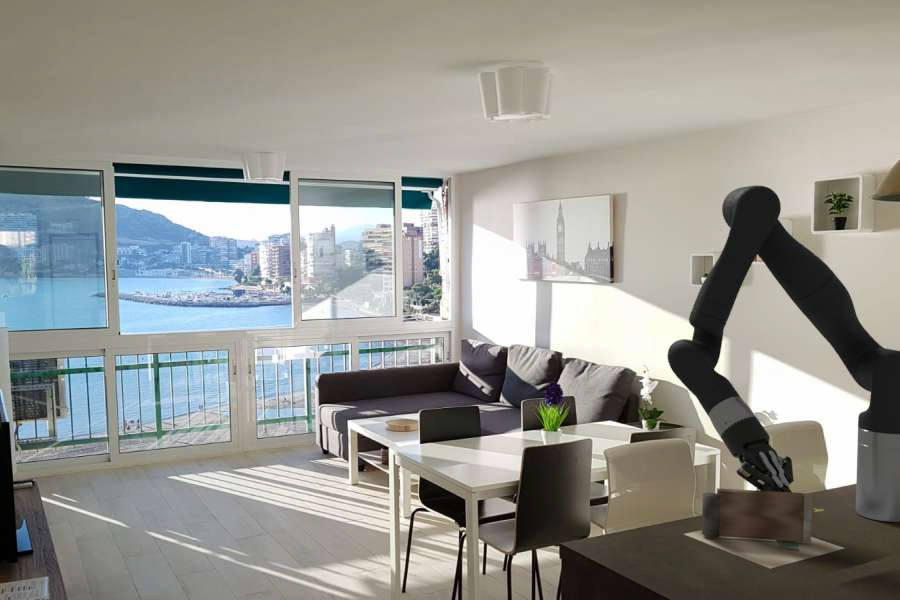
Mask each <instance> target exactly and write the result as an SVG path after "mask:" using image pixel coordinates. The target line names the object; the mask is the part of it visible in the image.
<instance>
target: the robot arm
mask: <svg viewBox="0 0 900 600" xmlns="http://www.w3.org/2000/svg"><path fill="white" fill-rule="evenodd" d="M721 208H722V209H721V213H722V217H723V219H724V222H725V223H726V225H727V226H728V227H729V232H728V236H727V238H726V241H725V244H724V246H723V249H722V250H721V252H720V255H719V257H718V258H717V260H716V262H715V263H714V264H713V266H712V268H711V269H710V271H709V273H708V274H707V276H706V278H705V279H704V280H703V283H702V285H701V287H700V289H699V291H698V294H697V295H696V296H697V297H696V299H695V301H694V304H693V306H692V309H691V311H690V314H689V316H688V317H689V318H688V322H689V325H690V326H692V328H693V334H692V338H691V339H687V338H686V339H684V338H683V339H678V340H676V341H674V342H673V343H671V345H670V346H669V348H668V350H667V362H668V366H669V367H670V369H671V371H672V372H673V373H674V374H673V375H675V376H676V378H677V379H678V380H679V381H680V382H681V383H682V385H684V386H685V388H686V389H687V390H688V391H690V392H691V394H692V395H694V396H695V397H696V400H698V403H699V404H700V406H701V407H702V409H703V410H704V412H705V413H706V415H707V417H708V418H709V420H710V422H711V425H712V426H713V428H714V430H715V431H716V433H717V434H718V436H719V437H720V439H721V441H722V442H723V443H724V445H725V447H726V449H728V451H729V452H730V454H731V455H732V457H734V458H735V459H738V461H739V462H740V467H739V468H738V469H737V470H736V473H737V475H738V476H739V477H741V478H742V479H743V480H745V481H746V482H748V483H749V484H750V485H752V486H753V487H755V488H757V490H758V491H774V492H792V490H791V489H790V485H791V484H792V483H793V482H794V470H793V461H792V458H791V457H789V456H785V457H782V456H780V455H778V452H777V451H776V450H775V449H774V448H773V447H772V446H771V445H770V435H769V433H768V431H767V430H766V429H765V427H764V426H763V425H762V423H761V421H760V420H759V419H758V418H757V415H755V413H754V411H752V409H751V407H750V406H749V405H748V404H747V403H746V402H745V401H744V400H743V398H742V397H741V395H740V394H739V392H738V391H737V390H736V388H735V387H734V385H733V384H732V382H731V381H730V380H729V379H728V378H727V377H726V376H724V375H723V374H720V373H719V372H717V371H716V370H715V368H717V365H718V363H719V360H720V357H721V353H722V352H721V350H722V345H723V340H724V329H725V327H726V325H727V322H728V320H729V317H730V316H731V313H732V311H733V308H734V306H735V303H736V300H737V298H738V295H739V292H740V290H741V288H742V285H743V283H744V281H745V278H746V277H747V274H748V272H749V270H750V268H751V267H752V264H753V262H754V261H755V259H756V257H757V256H758V257H759V259H761V261H762V262H763V263H764V265H765V266H766V268H767V269H768V271H769V272H770V273H771V274H772V275H771V276H773V277H774V278H775V280H776V281H777V283H778V284H779V285H780V286H781V288H782V289H783V290H784V292H785V293H786V294H787V296H788V297H789V298H790V300H792V302H793V303H794V305H795V306H796V307H797V308H798V309H799V310H800V311H801V313H802V314H803V315H804V317H806V318H807V320H809V322H810V323H811V324H812V325H813V326H814V327H815V329H816V330H817V331H818V332H819V333H820V334H821V336H822V337H823V338H824V339H825V340H826V341H827V343H829V345H830V346H831V347H832V348H833V350H834V352H835V353H836V355H837V356H838V357H839V359H840V360H841V362H842V363H843V365H844V367H845V368H846V370H847V371H848V373H849V374H850V375H851V377H852V379H853V380H854V381H855V383H856V384H857V385H858V386H860V387H861V388H862V389H863V390H865V391H866V392H869V393H870V399H869V406H868V408H867V409H866V410H865V411H864V410H863V411H862V412H860V413H859V414H858V417H857V446H856V447H857V452H856V453H857V454H856V456H857V457H856V486H855V488H856V489H855V513H856V514H857V515H859V516H861V517H864V518H867V519H870V520H876V521H880V522H889V523H900V350H897V349H891V348H885V347H883V346H882V345H881V344H880V343H879V342H877V341H876V339H875V338H874V337H872V336H871V333H869V332H868V331H867V329H865V327H864V326H863V325H862V323H861V322H860V320H859V318H858V316H857V312H856V308H855V306H854V302H853V299H852V297H851V295H850V293H849V291H848V289H847V287H846V286H845V285H844V283H843V282H842V281H841V280H840V279H839V277H838V276H837V274H835V272H834V271H833V270H832V269H831V268H830V266H828V265H827V264H826V263H825V262H824V261H823V260H822V259H821V258H820V257H819V256H817V254H815V253H814V252H813V251H811V250H810V249H808V248H807V246H804V245H803V244H802V243H801V242H800V241H798V240H797V239H795V237H794V236H792V235H791V234H790V233H789V231H787V230H786V228H785V227H784V225H783V224H782V223H781V221H780V220H779V217H780V216H781V215H780V214H781V211H782V210H781V200H780V198H779V196H778V194H777V193H776V192H775V191H774V190H773V189H772V188H770V187H768V186H764V185H750V186H742V187H738V188H735V189H733V190H731V191H730V192H729V193H727V195H726V196H725V198H724V200H723V203H722V207H721Z"/></svg>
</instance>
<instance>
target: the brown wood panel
mask: <svg viewBox="0 0 900 600" xmlns="http://www.w3.org/2000/svg"><path fill="white" fill-rule="evenodd" d="M701 507H702V513H701V514H702V515H701V516H702V517H701V518H702V519H701V520H702V521H701V530H702V534H703V535H704V536H707V537H734V538H750V539H765V540H780V541H796V542H808V543H811V537H812V516H813V515H812V512H813V511H812V510H813V496H812V494H810V493H809V492H793V491H791V492H774V491H760V490H754V489H753V490H752V489H751V490H749V489H737V488H716V492H703V493H702V506H701Z"/></svg>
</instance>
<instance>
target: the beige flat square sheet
mask: <svg viewBox="0 0 900 600" xmlns="http://www.w3.org/2000/svg"><path fill="white" fill-rule="evenodd" d="M683 535H685V536H687V537H689V538H692V539H695V540H697V541H700V542H702V543H704V544H706V545H709V546H712V547H714V548H717V549H720V550H722V551H724V552H727V553H730V554H733V555H734V556H737V557H739V558H742V559H744V560H745V559H746V560H747V561H750V562H753V563H755V564H758V565H759V566H763V567H765V568H768V569H775V568H778V567H782V566H785V565H790V564H793V563H797V562H800V561H803V560H807V559H811V558H814V557H818V556H822V555H823V556H824V555H826V554H829V553H833V552H837V551H840V550H845V547H843V546H840V545H836V544H835V543H830V542H828V541H824V540H823V539H822V540H821V539H818V538H816V537H813V536H811V543H808V542H796V541H780V540H765V539H750V538H734V537H707V536H704V535H703V534H702V529H700V530H696V531H692V532H687V533H683Z"/></svg>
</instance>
